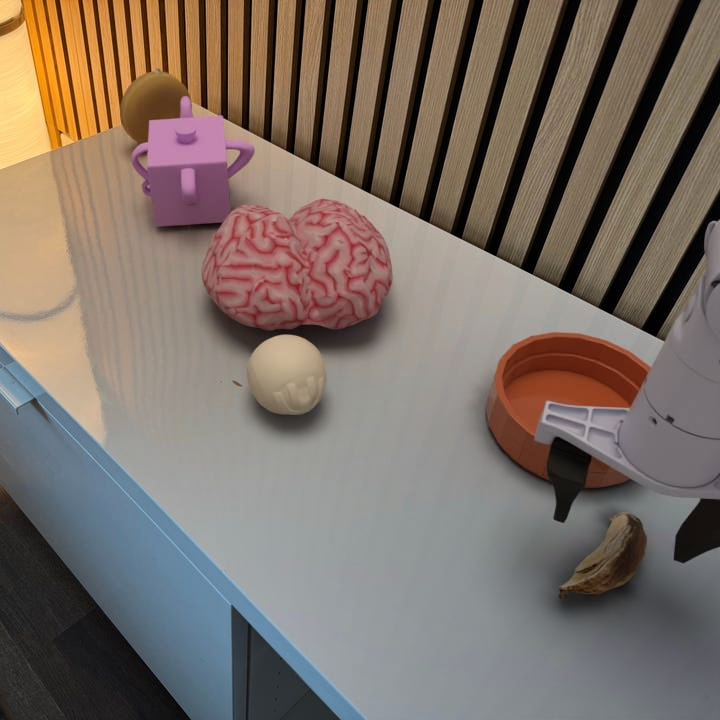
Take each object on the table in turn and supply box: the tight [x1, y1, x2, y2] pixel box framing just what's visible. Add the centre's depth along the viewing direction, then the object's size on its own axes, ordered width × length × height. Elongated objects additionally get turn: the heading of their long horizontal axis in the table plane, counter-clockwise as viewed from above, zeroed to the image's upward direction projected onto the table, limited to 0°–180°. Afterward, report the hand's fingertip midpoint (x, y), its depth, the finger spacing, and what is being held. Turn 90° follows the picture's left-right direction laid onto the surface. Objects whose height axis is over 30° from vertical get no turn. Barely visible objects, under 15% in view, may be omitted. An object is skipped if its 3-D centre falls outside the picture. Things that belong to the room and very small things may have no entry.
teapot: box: [130, 96, 256, 228], centre depth 87 cm, size 18×14×10 cm
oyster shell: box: [558, 511, 648, 599], centre depth 54 cm, size 6×4×10 cm
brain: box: [201, 198, 394, 331], centre depth 74 cm, size 19×18×10 cm
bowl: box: [485, 331, 652, 489], centre depth 63 cm, size 14×14×4 cm
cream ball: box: [246, 334, 327, 416], centre depth 65 cm, size 7×7×7 cm
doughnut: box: [119, 67, 193, 145], centre depth 96 cm, size 9×4×10 cm, turn 122°
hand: (618, 529), depth 52 cm, fingers open, 7 cm apart
